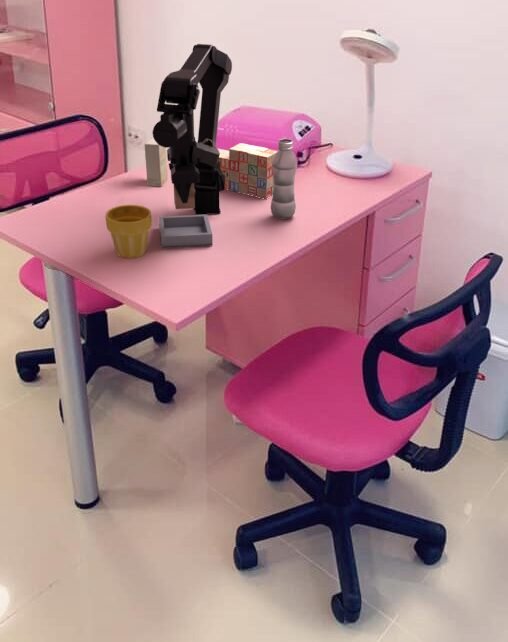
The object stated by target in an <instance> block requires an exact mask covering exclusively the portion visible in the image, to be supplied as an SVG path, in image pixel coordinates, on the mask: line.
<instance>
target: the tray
mask: <svg viewBox="0 0 508 642" xmlns="http://www.w3.org/2000/svg"><path fill="white" fill-rule="evenodd" d="M158 225H159V226H158V227H159V236H160V242H161V243H160V244H161V249H177V248H180V249H181V248H194V247H210V246H209V245H213V243H214V241H213V240H214V239H213V232H212V227H211V224H210V219H209V217H208V214H201V215H196V214H187V215H186V214H185V215H172V216H170V215H169V216H168V215H167V216H158Z"/></svg>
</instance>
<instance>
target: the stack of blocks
mask: <svg viewBox="0 0 508 642" xmlns="http://www.w3.org/2000/svg"><path fill="white" fill-rule="evenodd" d="M216 148H217V147H216ZM217 149H218V150H219V153H220V156H219V158H218V159H219V161H220V169H221V171H222V173H223V175H224V177H225V189H228V190H227V191H230V190H232V191H231V192H233V191H236V192H235V193H237V192H240V193H239V194H241V193H245V194H249V195H253V196H257V197H260V198H259V199H261V198H264V199H263V200H265V199H266V200H268V199H269V198H268V197H270V196H271V197H273V196H272V195H273V188H274V181H273V168H272V160H273V157H274V156H275V154H276V153H277V152H278V150H275V149H269V148H267V147H263V146H256V145H253V144H252V145H251V144H247V143H242V142H240V143H238V144H236V145H234V146H233V147H230V148H229V150H226V149H222V148H217ZM245 194H244V195H245ZM249 195H248V196H249ZM253 196H252V197H253ZM257 197H256V198H257ZM271 197H270V198H271ZM267 198H268V199H267Z"/></svg>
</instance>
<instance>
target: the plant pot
mask: <svg viewBox="0 0 508 642" xmlns="http://www.w3.org/2000/svg"><path fill="white" fill-rule="evenodd" d="M104 216H105V226H106V230H107V231H108V232H109V234H110V235H111V240H112V241H113V245H114V248H115V251H116V254H117V255H118V256H119V257H122V258H126V259H133V258H139V257H141V256H143V255H144V254H145V253H146V249H147V244H148V239H149V232H150V230H151V228H152V226H153V223H152V222H153V219H152V218H153V217H152V211H151V209H149V208H148V207H146V206H144V205H143V206H142V205H138V204H123V205H117V206H114V207H112V208H109V209H108V210H107V211H106V213H105V215H104Z"/></svg>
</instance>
